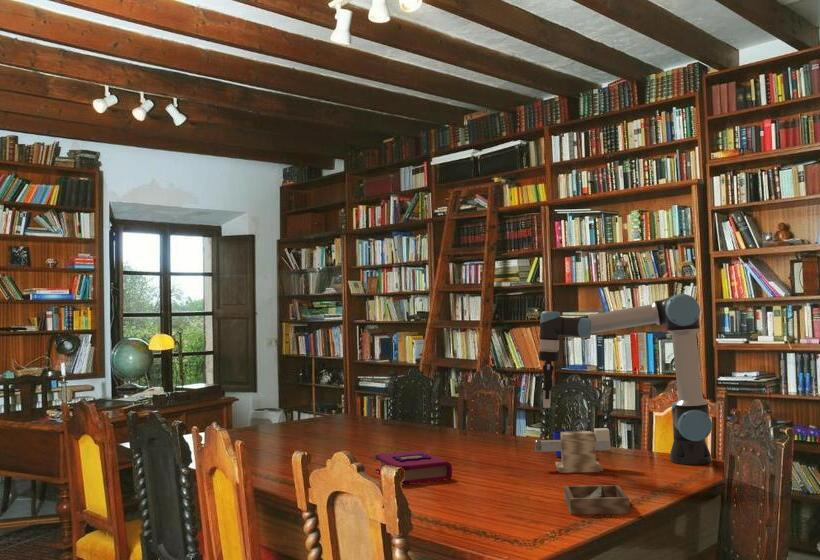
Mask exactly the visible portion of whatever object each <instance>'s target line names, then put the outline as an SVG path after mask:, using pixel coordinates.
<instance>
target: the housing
mask: <svg viewBox="0 0 820 560" xmlns="http://www.w3.org/2000/svg"><path fill="white" fill-rule="evenodd" d="M560 437H561V440H562V450H563V451H561V457H562V458H561V457H560V458H561V461H555V466H556V469H557V471H558V472H559V474H561V473H562V474H563V473H568V474H569V473H601V472H600V471H603V472H604V467H602V465H601V464H600V462H599V461H597V460H596V456H597V455H596V450H595V436H594V431H591V430H590V431H589V430H588V431H587V430H586V431H571V432H560Z"/></svg>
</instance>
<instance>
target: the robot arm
mask: <svg viewBox="0 0 820 560" xmlns="http://www.w3.org/2000/svg"><path fill="white" fill-rule="evenodd" d="M700 314H701V307H700V305H699V303H698V301H697V300H696V298H694V297H693V296H692V295H689V294H687V293H678V294H673V295H671V296H669V297H666V298H664V299H659V300H654V301H653V302H652V303H651V304H646V305H641V306H640V305H639V306H633V307H629V308H623V309H622V308H621V309H618V310H611V311H606V312H600V313H594V314H588V315H584V316H583V315H582V316H581V315H580V316H574V317H572V316H571V317H569V316H568V317H565V316H561V313H560V312H559V311H552V310H551V311H550V310H549V311H547V310H544V311H542V312H541V313H540V322H539V341H538V342H537V344H538V345H539V348H538V349H539V351H538V360H539V361H541V362H544V365H542V370H543V377H544V379H543V387H542V389H541V391H543V394H542V396H543V397H542V409H543V408H546V409H550V408H551V401H552V400H551V399H552V397H551V396H552V387H553V384H552V377H553V372H554V365H553V364H552V362H555V363H556V362H558V361H559V355H560V354H559V351H560V350H559V349H560V337H568V338H569V337H571V338H581V339H583V338H590V337H591V335H592V334H597V333H603V332H610V331H615V330H622V329H628V328H633V327H634V328H635V327H640V326H647V325H652V324H656V325H657V326H662V325H666V332H667V333H669V334H670V336H671V338H672V339H671V341H672V349H673V358H674V360H673V361H674V366H675V367H674V368H675V378H676V387H677V388H676V389H677V398H678V399H677V400H676V401H673V402H672V403H671V417H672V432H673V433H672V435H673V441H672V445H671V449H670V451H669V461H670V462H671V463H675V464H681V465H691V466H692V465H693V466H695V465H707V464H710V463H712V454H711V452H710V449H709V447H708V444H707V441H706V439H707V438H708V437H709V435H710V434H711V433H712V430H713V422H712V419H711V417H710V411H709V403H708V401H706V399H704V397H703V386H702V377H701V368H700V357H699V349H698V339H697V333H698V332H699V331H700V330H701V327H700V326H701V325H700Z"/></svg>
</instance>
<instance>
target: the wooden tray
mask: <svg viewBox="0 0 820 560" xmlns="http://www.w3.org/2000/svg"><path fill="white" fill-rule="evenodd" d="M600 485H602V484H600ZM600 485H597V484H596V485H563V491H564V492H563V495H564V502H565V505H566V506H567V509H568V511H569V513H570V515H626V514H627V515H630V514H631V508H630V507H631V506H630V497H629V496H628V494H626V493H625V491H624V490H623V489H622V487H621V486H620V484H613V485H612V484H610V485H609V484H603V485H602V486H603V489H604V494H605V498H586V497H587V496H589V495H591V494H592V493H593V492H595V491H596V490H597V489H598V487H599V486H600Z"/></svg>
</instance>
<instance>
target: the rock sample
mask: <svg viewBox="0 0 820 560" xmlns="http://www.w3.org/2000/svg"><path fill="white" fill-rule="evenodd" d="M586 498H605V494H604V489H603V486H602V484H600V486H599V487H598V489H597V490H596V491H595V492H593V493H592V494H591V495H589V496H587V497H586Z"/></svg>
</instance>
